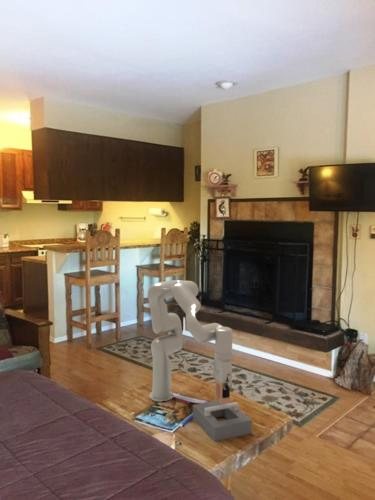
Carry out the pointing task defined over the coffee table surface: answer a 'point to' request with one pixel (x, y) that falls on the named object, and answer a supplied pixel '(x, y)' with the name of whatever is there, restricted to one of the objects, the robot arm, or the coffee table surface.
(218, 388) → the clip
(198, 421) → the grey rectangular frame
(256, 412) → the coffee table surface
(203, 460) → the coffee table surface
